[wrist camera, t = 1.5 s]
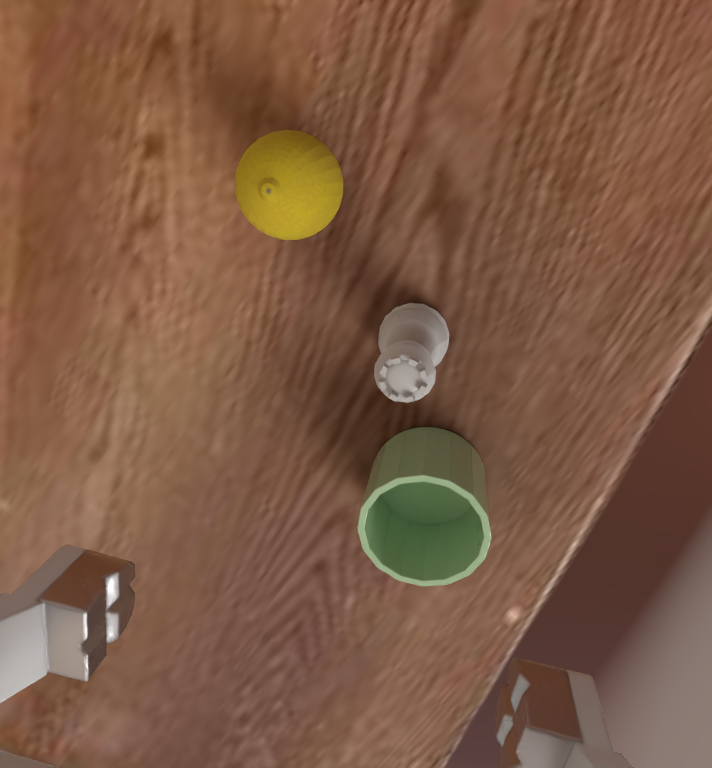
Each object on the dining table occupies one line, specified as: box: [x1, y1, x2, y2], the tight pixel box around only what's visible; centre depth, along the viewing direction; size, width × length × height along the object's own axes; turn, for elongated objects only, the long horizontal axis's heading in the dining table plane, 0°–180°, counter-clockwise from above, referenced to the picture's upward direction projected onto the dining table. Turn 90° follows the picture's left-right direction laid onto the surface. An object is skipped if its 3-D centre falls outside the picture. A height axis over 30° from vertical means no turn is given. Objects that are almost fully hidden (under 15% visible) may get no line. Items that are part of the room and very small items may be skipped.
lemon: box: [235, 130, 343, 240], centre depth 31 cm, size 6×6×8 cm
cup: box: [357, 427, 492, 586], centre depth 37 cm, size 8×8×6 cm
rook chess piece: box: [374, 303, 449, 403], centre depth 33 cm, size 4×4×8 cm
